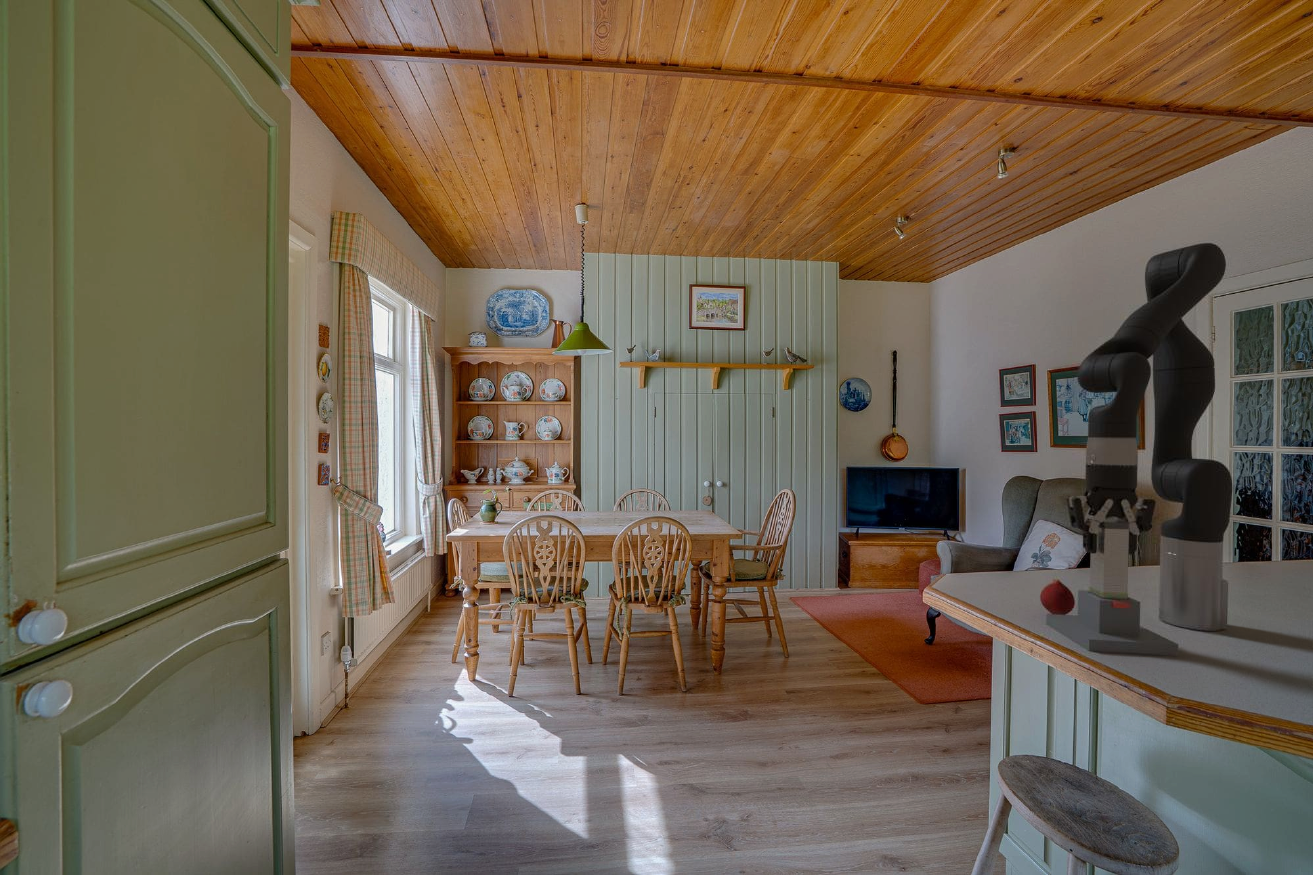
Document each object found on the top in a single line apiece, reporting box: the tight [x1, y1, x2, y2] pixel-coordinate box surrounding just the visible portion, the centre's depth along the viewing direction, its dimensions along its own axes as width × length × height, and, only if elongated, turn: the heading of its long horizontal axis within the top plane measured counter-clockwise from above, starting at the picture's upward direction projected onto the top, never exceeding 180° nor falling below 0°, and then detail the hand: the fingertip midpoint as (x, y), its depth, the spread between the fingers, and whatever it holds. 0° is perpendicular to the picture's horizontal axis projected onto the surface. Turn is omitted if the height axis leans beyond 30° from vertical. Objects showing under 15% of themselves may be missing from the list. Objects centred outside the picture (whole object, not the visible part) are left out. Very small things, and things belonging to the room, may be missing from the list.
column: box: [1088, 518, 1129, 600], centre depth 106 cm, size 4×4×14 cm
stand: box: [1045, 589, 1179, 657], centre depth 106 cm, size 14×14×8 cm
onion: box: [1039, 578, 1076, 615], centre depth 118 cm, size 6×6×8 cm
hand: (1109, 552), depth 106 cm, fingers open, 5 cm apart
